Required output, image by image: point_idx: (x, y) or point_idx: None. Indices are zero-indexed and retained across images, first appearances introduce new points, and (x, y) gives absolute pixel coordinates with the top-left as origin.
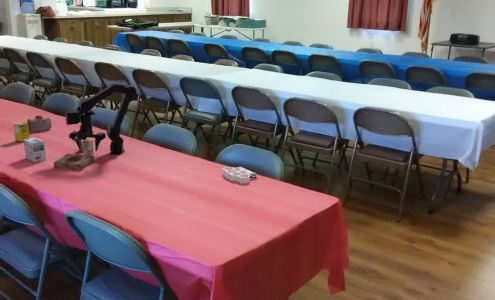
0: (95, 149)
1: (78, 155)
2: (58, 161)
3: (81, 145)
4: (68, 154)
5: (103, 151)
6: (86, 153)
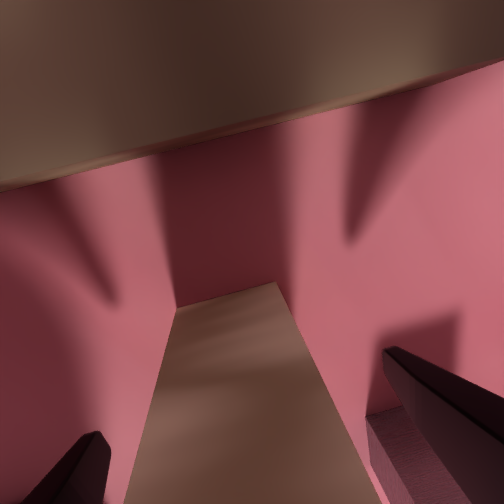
0: (71, 468)
1: (211, 38)
2: None
3: None
4: (497, 6)
5: None
6: (237, 324)
